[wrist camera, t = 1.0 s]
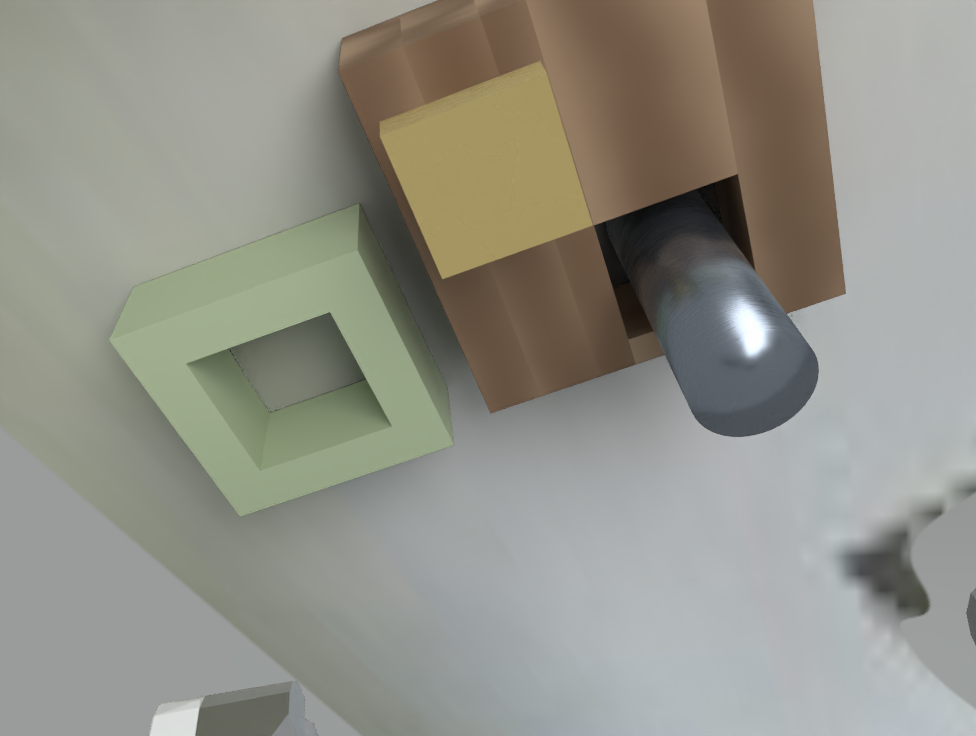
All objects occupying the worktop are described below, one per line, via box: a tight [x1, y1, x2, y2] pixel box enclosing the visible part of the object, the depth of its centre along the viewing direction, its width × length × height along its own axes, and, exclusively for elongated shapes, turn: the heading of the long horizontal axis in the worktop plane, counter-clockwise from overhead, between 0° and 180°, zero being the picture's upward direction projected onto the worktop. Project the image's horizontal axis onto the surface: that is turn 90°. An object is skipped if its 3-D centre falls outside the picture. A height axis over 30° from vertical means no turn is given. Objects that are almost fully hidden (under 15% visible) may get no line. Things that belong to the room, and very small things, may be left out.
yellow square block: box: [380, 61, 593, 279], centre depth 28 cm, size 5×5×5 cm
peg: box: [606, 189, 819, 437], centre depth 31 cm, size 4×4×12 cm
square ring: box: [109, 203, 454, 517], centre depth 36 cm, size 10×10×4 cm
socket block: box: [338, 0, 846, 413], centre depth 33 cm, size 15×15×4 cm
